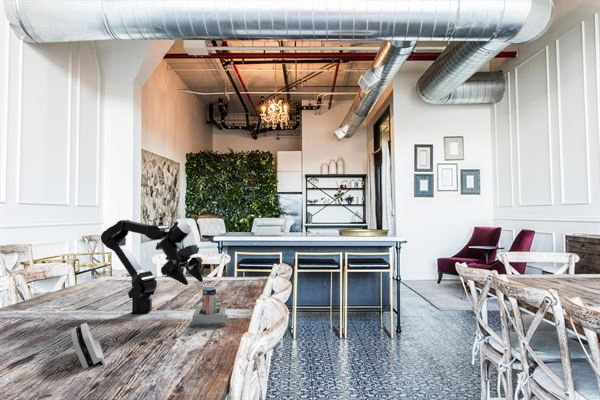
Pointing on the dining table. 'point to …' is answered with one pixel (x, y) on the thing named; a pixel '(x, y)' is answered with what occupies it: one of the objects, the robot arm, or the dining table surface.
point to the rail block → (209, 318)
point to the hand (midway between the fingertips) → (194, 282)
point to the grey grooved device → (86, 346)
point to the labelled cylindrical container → (209, 299)
